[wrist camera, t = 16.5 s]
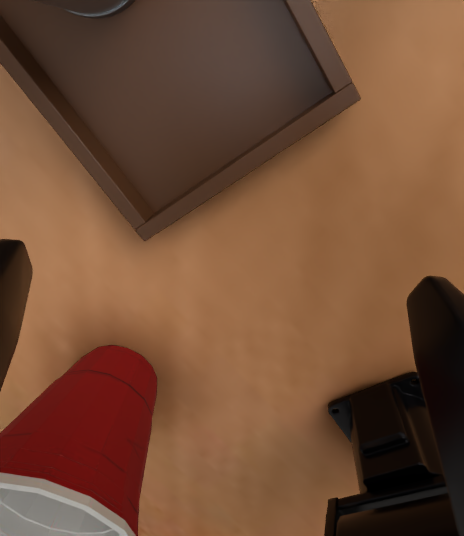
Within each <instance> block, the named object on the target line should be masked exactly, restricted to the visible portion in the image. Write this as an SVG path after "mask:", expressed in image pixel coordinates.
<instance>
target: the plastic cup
mask: <svg viewBox="0 0 464 536" xmlns="http://www.w3.org/2000/svg"><path fill="white" fill-rule="evenodd" d="M156 394H157V377H156V374H155V372H154V370H153V367H152V366H151V365H150V364H149V363H148V362H147V361H146V360H145V358H144V357H143V356H141V355H140V354H138V353H136V352H134V351H132V350H130V349H128V348H125V347H120V346H115V345H109V346H102V347H98V348H96V349H94V350H93V351H91V352H90V353H88V354H87V355H85V356H83V357H82V358H81V359H80V360H79V361H77V362H76V363H75V364H74V365H73V366H72V367H71V368H70V369H69V370H68V371H67V372H66V373H65V374H64V375H63V376H62V377H60V378H58V379H57V380H55V381H54V382H53V383H52V384H51V385H50V386H49V387H48V388H47V389H46V390H45V391H44V392H43V393H42V394H41V395H40V396H39V397H37V398H36V399H35V400H34V401H33V402H32V403H31V404H30V405H29V406H28V407H27V408H26V409H25V410H24V411H23V412H22V413H21V414H20V415H19V416H18V417H17V418H15V419H14V420H13V421H12V422H11V423H10V424H9V425H8V426H7V427H6V428H5V429H4V430H3V431H2V432H1V433H0V536H138V515H139V499H140V493H141V487H142V481H143V475H144V469H145V463H146V458H147V452H148V446H149V440H150V434H151V426H152V416H153V411H154V406H155V401H156Z"/></svg>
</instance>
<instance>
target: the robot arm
mask: <svg viewBox="0 0 464 536" xmlns="http://www.w3.org/2000/svg"><path fill="white" fill-rule="evenodd" d="M31 279H32V265H31V262H30V259H29V256H28V253H27V250H26V247H25V245H24V243H23V242H22V241H20V240H10V239H0V391H1V388H2V385H3V382H4V379H5V377H6V374H7V371H8V368H9V365H10V363H11V360H12V357H13V354H14V351H15V348H16V345H17V342H18V338H19V334H20V330H21V325H22V321H23V316H24V312H25V307H26V302H27V298H28V293H29V289H30V284H31ZM407 310H408V318H409V325H410V332H411V339H412V346H413V353H414V359H415V364H416V368H417V372H411V373H408V374H405V375H402V376H400V377H397V378H394V379H391V380H389V381H386V382H383V383H381V384H378V385H375V386H373V387H370V388H367V389H365V390H362V391H359V392H357V393H354V394H351V395H348V396H346V397H343V398H340V399H338V400H335V401H332V402H330V403H329V404H328V412H329V414H330V415H331V416H332V418H333V419H334V420H335V422H336V423H337V424H338V426H339V427H340V428H341V430H342V431H343V432H344V434H345V435H346V436H347V438H348V439H349V440H350V442H351V443H352V448H353V454H354V460H355V466H356V472H357V478H358V484H359V490H360V494H357V495H353V496H349V497H344V498H340V499H338V498H332V499H328V507H327V514H326V524H325V534H324V536H464V294H463V293H462V292H460V291H459V290H458V289H457V288H456V287H455V286H454V285H453V284H451V283H450V282H449V281H448V280H447V279H446V278H443V277H438V276H426V277H424V278H423V279H422V280H421V281H420V283H419V284H418V285H417V286H416V287H415V288H414V290H413V291H412V292H411V293H410V294H409V296H408V298H407ZM414 379H416V380H415V381H412V380H414ZM334 408H337V409H334Z"/></svg>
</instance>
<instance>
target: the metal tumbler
mask: <svg viewBox="0 0 464 536" xmlns="http://www.w3.org/2000/svg"><path fill="white" fill-rule="evenodd" d="M33 1H37V2H40V3H44V4H48V5H51V6H55V7H59V8H62V9H64V10H66V11H68V12H70V13H73V14H76V15H79V16H83V17H87V18H96V19H99V18H107V17H111V16H114V15H116V14H118V13H121V12H122V11H124V10H125V9H127V8H128V7H129V6H130V5H131V4H132V3H133V2H134V1H135V0H33Z"/></svg>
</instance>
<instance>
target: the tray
mask: <svg viewBox="0 0 464 536" xmlns="http://www.w3.org/2000/svg"><path fill="white" fill-rule="evenodd" d="M0 63H1V64H2V66H3V67H4V68H5V69H6V70H7V72H8V73H9V74H10V75H11V77H12V78H13V79H14V80H15V82H16V83H17V84H18V85H19V87H20V88H21V89H22V90H23V92H24V93H25V94H26V95H27V97H28V98H29V99H30V100H31V101H32V103H33V104H34V105H35V106H36V108H37V109H38V110H39V111H40V113H41V114H42V115H43V116H44V118H45V119H46V120H47V121H48V123H49V124H50V125H51V126H52V128H53V129H54V130H55V131H56V132H57V134H58V135H59V136H60V137H61V139H62V140H63V141H64V142H65V144H66V145H67V146H68V147H69V149H70V150H71V151H72V152H73V154H74V155H75V156H76V157H77V159H78V160H79V161H80V162H81V163H82V165H83V166H84V167H85V168H86V170H87V171H88V172H89V173H90V175H91V176H92V177H93V178H94V180H95V181H96V182H97V183H98V185H99V186H100V187H101V188H102V190H103V191H104V192H105V193H106V194H107V196H108V197H109V198H110V199H111V201H112V202H113V203H114V204H115V206H116V207H117V208H118V209H119V211H120V212H121V213H122V214H123V216H124V217H125V218H126V219H127V221H128V222H129V223H130V224H131V225H132V227H133V228H134V229H136V232H137V233H138V234H139V235H140V237H141V238H142V239H143V240H144V241H146V240H148V239H149V238H151V237H152V236H154V235H155V234H157V233H158V232H160V231H161V230H163V229H164V228H166V227H167V226H169V225H170V224H172V223H173V222H175V221H177V220H178V219H180V218H181V217H183V216H184V215H186V214H187V213H189V212H190V211H192V210H193V209H195V208H196V207H198V206H199V205H201V204H202V203H204V202H205V201H207V200H208V199H210V198H211V197H213V196H215V195H216V194H218V193H219V192H221V191H222V190H224V189H225V188H227V187H228V186H230V185H231V184H233V183H234V182H236V181H237V180H239V179H240V178H242V177H243V176H245V175H246V174H248V173H249V172H251V171H253V170H254V169H256V168H257V167H259V166H260V165H262V164H263V163H265V162H266V161H268V160H269V159H271V158H272V157H274V156H275V155H277V154H278V153H280V152H281V151H283V150H284V149H286V148H288V147H289V146H291V145H292V144H294V143H295V142H297V141H298V140H300V139H301V138H303V137H304V136H306V135H307V134H309V133H310V132H312V131H313V130H315V129H316V128H318V127H319V126H321V125H322V124H324V123H326V122H327V121H329V120H330V119H332V118H333V117H335V116H336V115H338V114H339V113H341V112H342V111H344V110H345V109H347V108H348V107H350V106H351V105H353V104H354V103H356V102H357V101H359V100H360V99H361V97H360V95H359V94H358V92H357V90H356V88H355V86H354V84H353V83H352V80H351V78H350V76H349V74H348V72H347V70H346V68H345V66H344V64H343V62H342V61H341V59H340V57H339V55H338V53H337V51H336V49H335V47H334V45H333V43H332V41H331V39H330V37H329V35H328V33H327V31H326V29H325V28H324V26H323V24H322V22H321V20H320V18H319V16H318V14H317V12H316V10H315V8H314V6H313V4H312V2H311V0H135V1H134V2H133V3H132V4H131V5H130V6H129V7H128V8H127V9H125V10H124V11H122V12H121V13H118V14H116V15H114V16H111V17H107V18H99V19H96V18H87V17H83V16H79V15H76V14H73V13H70V12H68V11H66V10H64V9H62V8H59V7H55V6H51V5H48V4H44V3H40V2H37V1H33V0H0Z"/></svg>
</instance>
